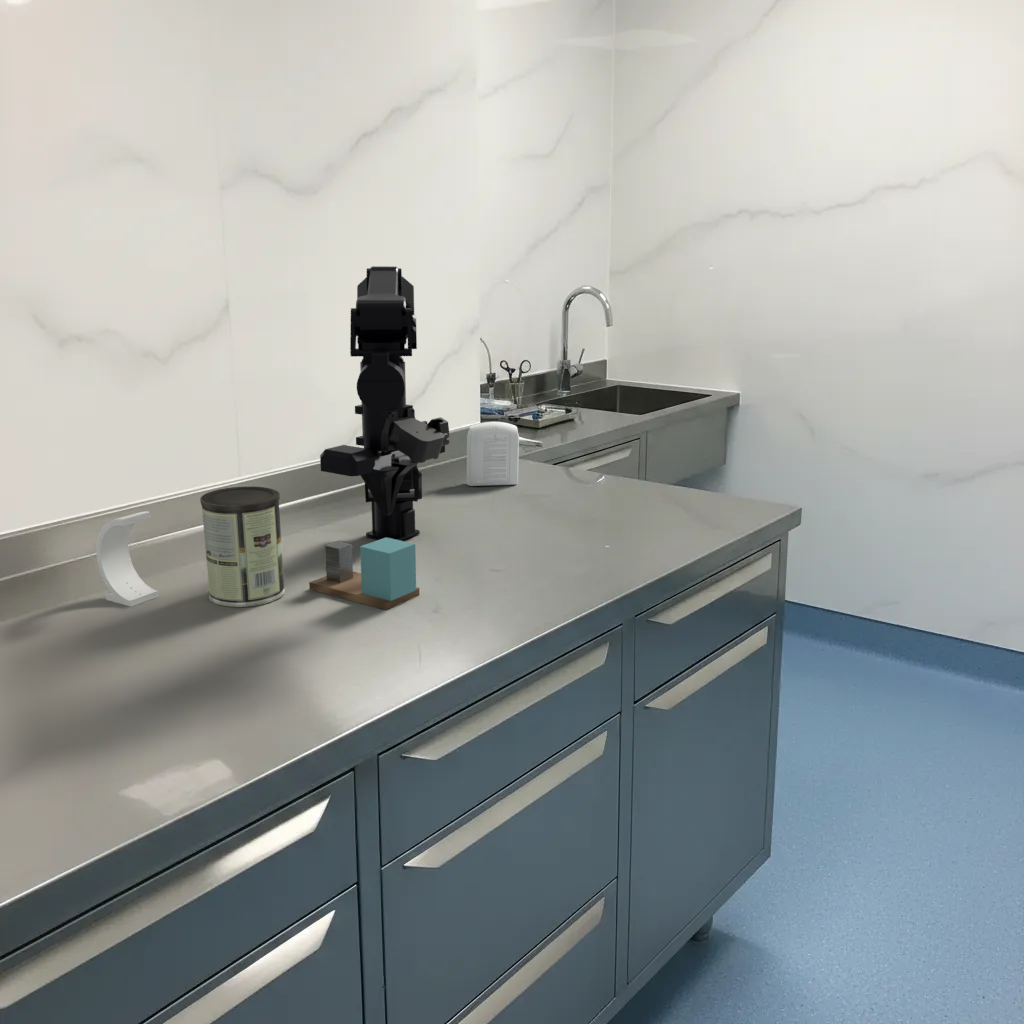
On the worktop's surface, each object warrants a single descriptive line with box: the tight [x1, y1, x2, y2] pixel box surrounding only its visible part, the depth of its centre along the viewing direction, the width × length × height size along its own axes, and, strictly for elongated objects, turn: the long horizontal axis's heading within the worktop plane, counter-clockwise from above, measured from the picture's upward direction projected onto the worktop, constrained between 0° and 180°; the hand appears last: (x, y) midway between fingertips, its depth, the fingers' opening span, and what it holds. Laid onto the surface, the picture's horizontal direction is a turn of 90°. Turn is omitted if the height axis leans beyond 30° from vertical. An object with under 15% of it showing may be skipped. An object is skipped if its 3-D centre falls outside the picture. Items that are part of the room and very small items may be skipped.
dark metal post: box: [324, 540, 354, 583], centre depth 146 cm, size 3×3×5 cm
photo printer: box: [466, 421, 520, 487], centre depth 203 cm, size 10×4×12 cm, turn 102°
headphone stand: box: [95, 510, 159, 608], centre depth 141 cm, size 5×6×12 cm
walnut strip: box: [308, 571, 420, 611], centre depth 145 cm, size 14×7×1 cm, turn 56°
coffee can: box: [199, 486, 286, 608], centre depth 142 cm, size 10×10×14 cm
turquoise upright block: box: [359, 537, 417, 601], centre depth 141 cm, size 5×5×7 cm
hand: (386, 514), depth 139 cm, fingers closed
